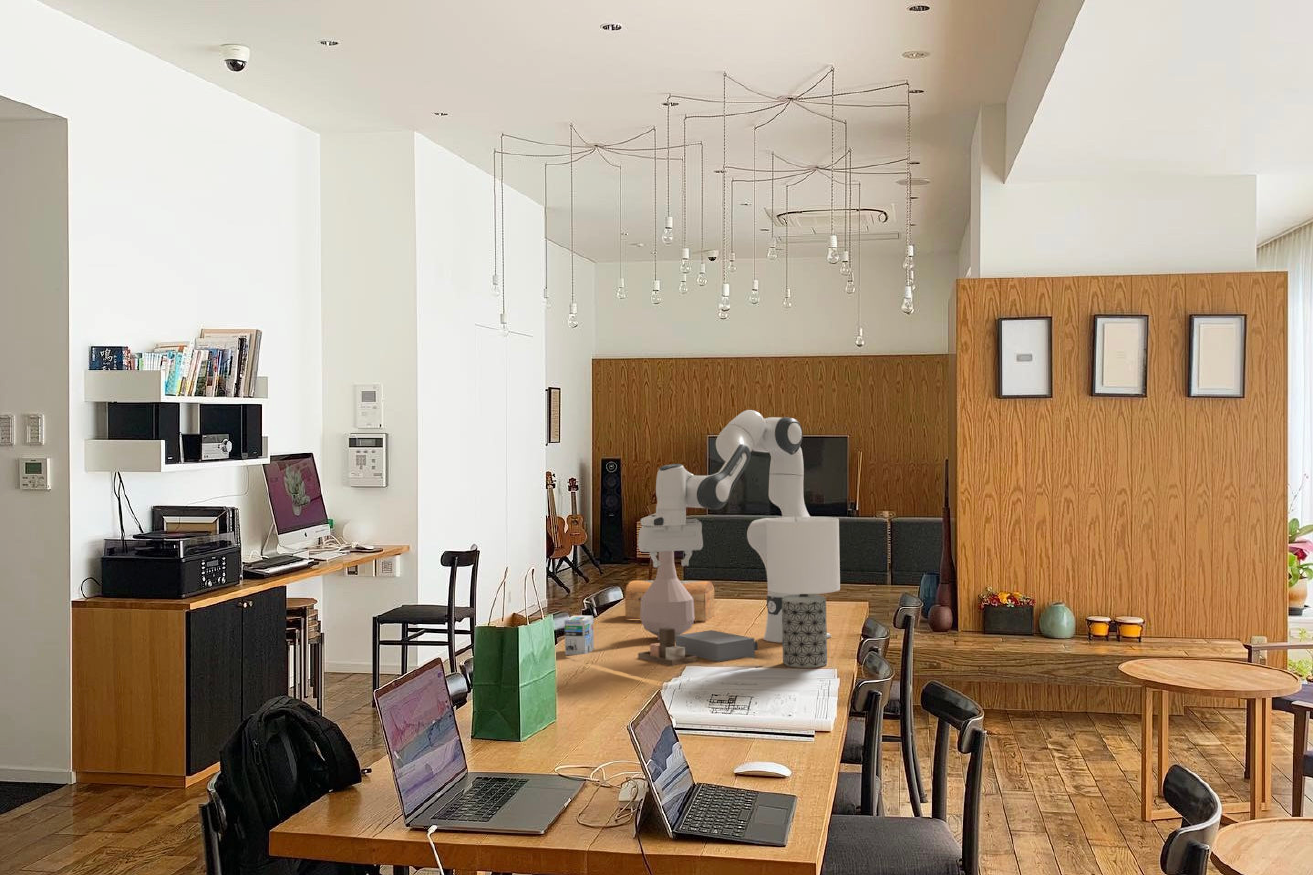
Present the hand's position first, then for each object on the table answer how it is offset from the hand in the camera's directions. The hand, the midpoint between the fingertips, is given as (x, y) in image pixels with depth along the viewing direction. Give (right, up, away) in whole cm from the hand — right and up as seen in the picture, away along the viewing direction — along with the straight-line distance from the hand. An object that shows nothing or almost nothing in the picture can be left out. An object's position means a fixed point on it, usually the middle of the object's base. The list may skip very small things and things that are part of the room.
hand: (671, 566), depth 344 cm
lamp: (+38, -27, -8) cm, 48 cm away
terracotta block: (-3, -27, +1) cm, 27 cm away
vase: (-1, -28, +38) cm, 47 cm away
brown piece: (-1, -28, -2) cm, 28 cm away
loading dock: (+13, -28, +6) cm, 31 cm away
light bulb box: (-28, -29, +18) cm, 44 cm away
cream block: (+1, -27, -5) cm, 27 cm away
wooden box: (+1, -28, +83) cm, 88 cm away
